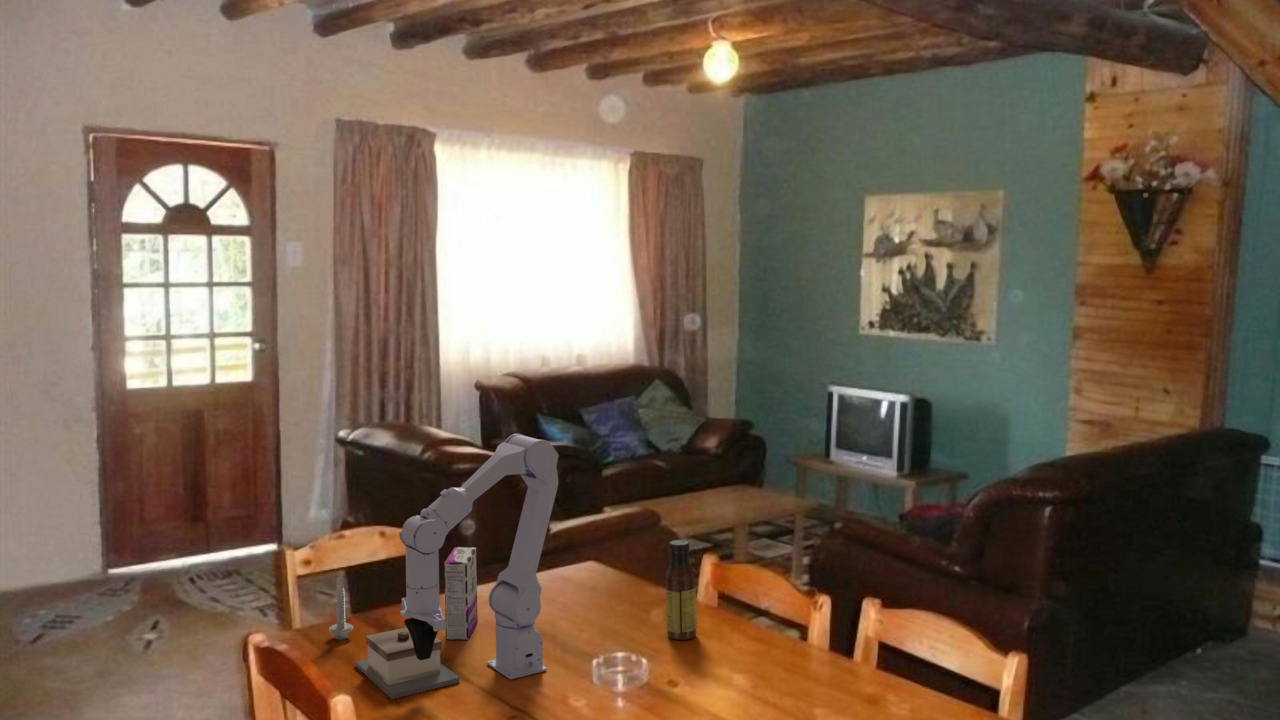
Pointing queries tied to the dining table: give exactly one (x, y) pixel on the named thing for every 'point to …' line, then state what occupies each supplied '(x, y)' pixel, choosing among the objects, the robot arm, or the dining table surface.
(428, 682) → the board
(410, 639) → the lid
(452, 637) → the candy bar box
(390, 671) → the open grey box
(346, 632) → the screw
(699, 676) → the dining table surface
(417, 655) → the robot arm
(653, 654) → the dining table surface
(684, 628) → the sauce bottle
